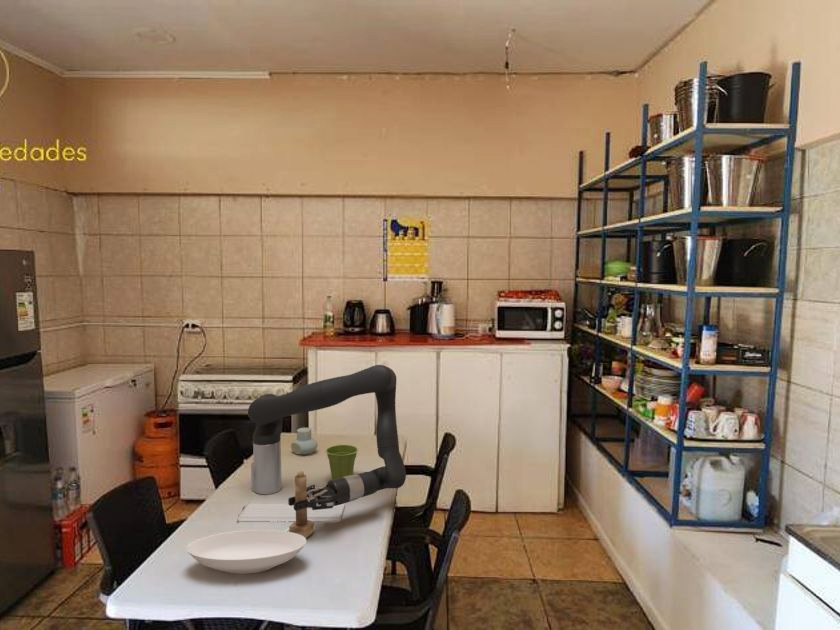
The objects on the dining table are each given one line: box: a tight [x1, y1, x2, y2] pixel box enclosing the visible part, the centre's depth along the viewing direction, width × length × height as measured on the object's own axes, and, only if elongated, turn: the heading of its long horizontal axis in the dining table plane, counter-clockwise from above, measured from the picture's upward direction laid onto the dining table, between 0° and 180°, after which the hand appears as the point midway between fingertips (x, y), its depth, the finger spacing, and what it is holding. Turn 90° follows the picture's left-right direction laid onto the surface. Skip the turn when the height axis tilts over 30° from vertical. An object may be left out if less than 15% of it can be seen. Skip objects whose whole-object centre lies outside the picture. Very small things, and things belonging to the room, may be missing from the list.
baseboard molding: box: [236, 503, 346, 523], centre depth 166 cm, size 31×3×12 cm
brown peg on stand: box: [288, 470, 315, 539], centre depth 153 cm, size 5×5×18 cm
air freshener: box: [290, 427, 319, 456], centre depth 223 cm, size 11×8×10 cm
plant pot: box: [325, 444, 359, 480], centre depth 195 cm, size 12×12×11 cm
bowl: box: [186, 529, 307, 575], centre depth 137 cm, size 30×15×6 cm, turn 94°
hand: (291, 504), depth 151 cm, fingers closed on brown peg on stand, 3 cm apart
